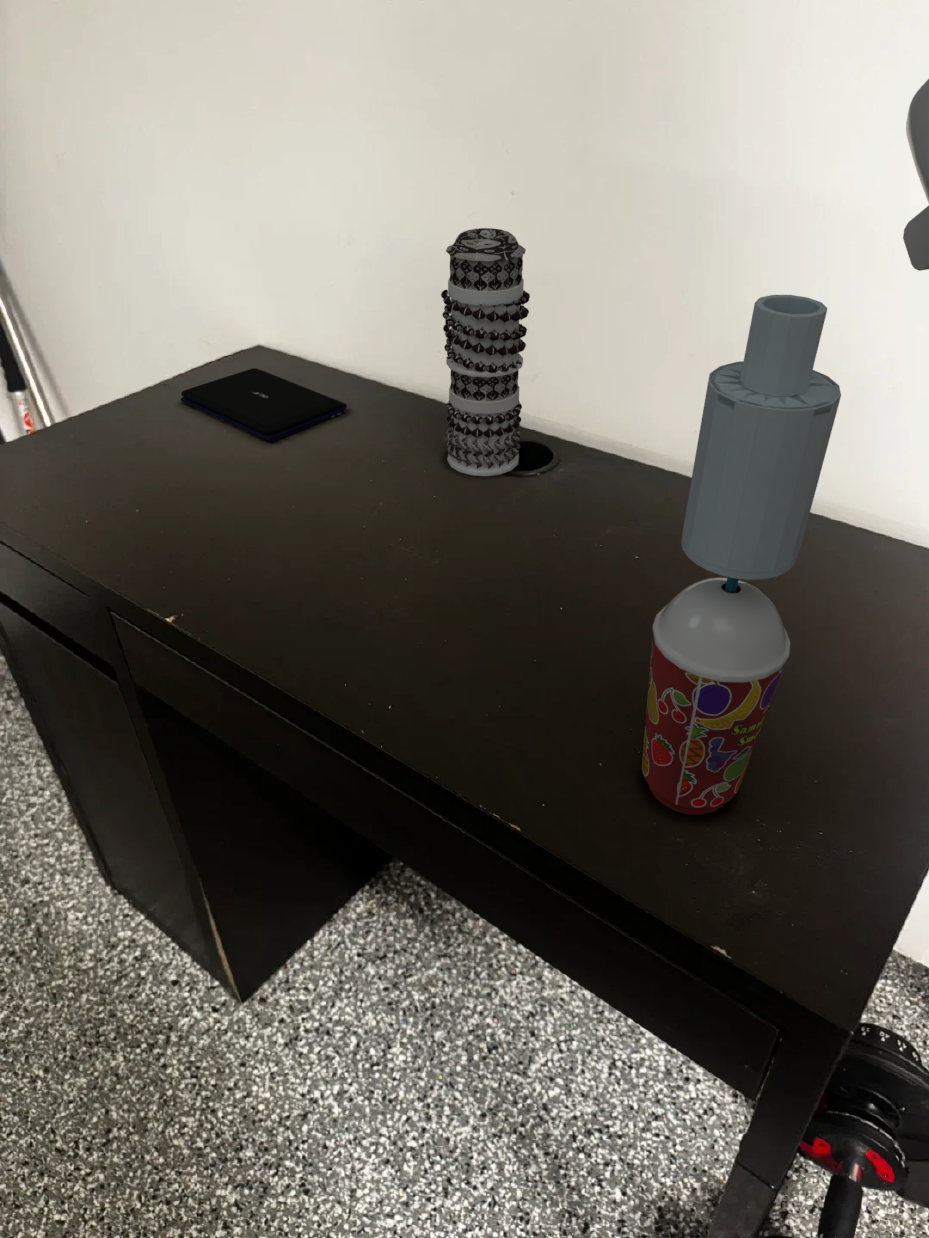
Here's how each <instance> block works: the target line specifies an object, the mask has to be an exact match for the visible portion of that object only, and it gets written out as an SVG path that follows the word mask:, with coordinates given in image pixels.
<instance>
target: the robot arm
mask: <svg viewBox="0 0 929 1238" xmlns="http://www.w3.org/2000/svg"><path fill="white" fill-rule="evenodd" d="M905 122H906V123H905V126H906V127H905V133H906V139H907V143H908V147H909V151H910V153H911V157H912V160H913V163H914V166H915V167H914V168H915V170H916V174H917V176H918V178H919V179H918V180H919V181H920V184H921V187H922V190H923V192H924V195H925V198H926V201H927V203H928V204H929V78H928V79H927V80H926V81H925V82H924V83H923V84H922V85H921V86H920V87H919V89H918V90H917V91H916V92H915V94H914V95H913V97H912V99H911V100H910V103H909V107H908V112H907V116H906V121H905ZM902 239H903V242H904V247H905V249H906V252H907V256H908V258H909V261H910V264H911V266H912V267H913V269H914V270H916V271H918V272H920V271H927V270H929V205H927V206H926V207H925V208H923V209H922V210H921V211H920V212H919V213H917V214H916V215H915V216H914V217H913V218H911V219H910V220H909V221H907V223H906V225H905V227H904V229H903V234H902Z"/></svg>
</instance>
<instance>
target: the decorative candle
mask: <svg viewBox="0 0 929 1238" xmlns="http://www.w3.org/2000/svg"><path fill="white" fill-rule="evenodd" d="M526 251H527V249H526V248H525V247H523V246H522V245H521V244H520V243H519V242H518V240H517V238H516V236H515V235H513V233H511V232H510V231H507V230H504V229H501V228H493V227H491V228H489V227H481V228H472V229H467V230H464V231H462V232H460V233H459V234H458V235H457V236H456V239H455V240H454V242H453V244H450V245H448V246H447V248H446V250H445V252H446V253H447V254H448V255H449V278H448V280H447V289H444V290H442V291H441V294H440V296H441V298H442V299H443V300H442V301H443V304H444V307H443V312H442V314H441V315H442V318H443V319H444V320H445V321H444V325H443V327H442V329H443V332H444V336H445V338H446V340H445V342H446V344H445V345H444V350H445V352H446V355H447V356H446V357H445V359H446V362H445V364H446V366H447V367H448V369H450V385H449V389H448V402H447V403H446V406H445V407H446V409H447V413H448V415H447V416H446V421H447V425H448V426H449V427H448V428H447V430H446V432H445V433H446V434H445V435H446V438H447V443H446V450H447V452H448V453H447V463H448V464H449V466H450V467H451V468H452V469H453V470H456V471H457V472H458V473H462V474H466V475H469V476H474V477H476V476H478V477H491V476H499V475H503V474H506V473H508V472H511V471H513V470H514V469H515V468H516V467H517V466H518V465H519V461H520V460H519V459H520V451H519V450H520V449H521V445H520V444H519V443H520V441H521V439H520V437H521V436H522V433H521V432H520V430H519V429H520V428H519V427H520V426H521V422H522V417H521V416H520V414H521V412H522V408H523V405H522V403H520V386H519V382H518V381H519V374H520V373H519V370H521V368H523V365H524V358H523V356H522V355H521V354H520V353H522V352H523V351H524V350H525V348H526V347H527V344H526V342H525V341H523V339H522V338H524V337H525V336H526V335H527V332H528V328H527V327H526V326H524V325H523V323H520V321H522V320H523V319H526V318H527V317H528V315H529V314H530V310H529V309H528V308H527V307H525V304H527V303H529V301H530V298H531V295H530V293H529V292H527V291H526V290H524V287H525V286H524V285H525V284H524V283H525V279H524V278H523V269H524V268H523V267H524V260H523V257H524V255H525V254H526Z"/></svg>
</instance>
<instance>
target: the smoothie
mask: <svg viewBox="0 0 929 1238" xmlns="http://www.w3.org/2000/svg"><path fill="white" fill-rule="evenodd" d="M651 631H652V641H651V652H650V663H649V677H648V687H647V700H646V701H647V702H646V712H645V723H644V736H643V748H642V759H641V770H642V774H643V778H644V780H645V782H646V783H647V784H648V789H649V790H650V792H651V793H652V795H653V796H654V798H655V799H656V800H657V801H659V803H661V804H662V805H663V806H664V807H666V808H668V809H670V810H673V811H674V812H676V813H677V812H678V813H682V814H685V815H690V816H691V815H692V816H693V815H695V816H699V815H701V816H702V815H706V814H711V813H713V812H717V810H719V809H720V808H722V807H723V806H724V805H725V804H726V803H728V802H729V801H731V800H732V799H734V798H735V796H736V794H737V793H738V792H739V790H740V787H741V784H742V781H743V778H744V776H745V774H746V770H747V768H748V765H749V762H750V759H751V757H752V755H753V752H754V749H755V746H756V744H757V741H758V738H759V735H760V733H761V730H762V727H763V725H764V722H765V719H766V716H767V713H768V711H769V709H770V705H771V703H772V701H773V697H774V696H775V695H774V694H775V692H776V690H777V687H778V684H779V682H780V678H781V677H782V673H783V671H784V668H785V664H786V663H787V661H788V659H789V658H790V656H791V654H790V653H791V645H792V643H791V639H790V637H789V635H788V632H787V630H786V628H785V627H784V624H783V620H782V618H781V616H780V613H779V610H778V609H777V607H776V605H775V603H774V602H773V601H772V600H771V599H770V598H769V597H768V596H767V595H766V594H765V592H764V591H762V590H761V589H759V588H758V587H756V586H755V585H753V584H751V583H750V582H747V581H746V580H743V579H736V578H730V577H726V576H714V577H709V578H703V579H700V580H697V581H696V582H694V583H692V584H689V585H687V586H685V587H684V588H683V589H682V590H680V591H679V592H678V593H677V594H676V595H675V596H674V597H673V598H672V599H671V600H670V601H669V602H668V604H666V605H665V606H664V607H663V608H662V609H661V610H660V611H658V613H656V614H655V617H654V620H653V623H652V630H651Z"/></svg>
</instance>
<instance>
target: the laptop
mask: <svg viewBox="0 0 929 1238" xmlns="http://www.w3.org/2000/svg"><path fill="white" fill-rule="evenodd" d="M180 394H181V396H182V397H181V398H180V401H181V402H182V403H184V404H186V405H188V406H190V407H192V408H194V409H197V410H199V411H201V412H203V413H205V414H208V415H210V416H212V417H214V418H216V419H219V420H221V421H222V422H225V423H227V424H229V425H232V426H233V427H235V428H238V429H240V430H242V431H244V432H247V433H248V434H251V435H253V436H255V437H257V438H260V439H262V440H264V441H267V442H269V443H270V442H271V443H273V442H277V441H279V440H281V439H283V438H287V437H288V436H292V435H293V434H296V433H299V432H301V431H303V430H306V429H308V428H310V427H314V426H316V425H318V424H320V423H323V422H325V421H328V420H331V419H333V418H335V417H337V416H339V415H343V414H344V413H345V410H346V408H347V403H345V402H343V401H340V400H338V399H335V398H332V397H330V396H328V395H325V394H323V393H320V392H317V391H315V390H313V389H311V388H307V387H305V386H303V385H300V384H298V383H295V382H293V381H291V380H288V379H285V378H282V377H280V376H277V375H275V374H272V373H269V372H268V371H265V370H263V369H260V368H257V367H255V368H254V367H252V368H249V369H246V370H244V371H240V372H237V373H233V374H230V375H228V376H223V377H221V378H218V379H215V380H212V381H208V382H205V383H203V384H200V385H199V384H198V385H197V386H193V387H190V388H187V389H184V390H183V391H181V393H180Z"/></svg>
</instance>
